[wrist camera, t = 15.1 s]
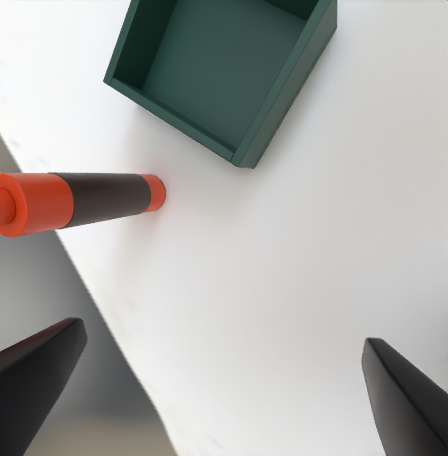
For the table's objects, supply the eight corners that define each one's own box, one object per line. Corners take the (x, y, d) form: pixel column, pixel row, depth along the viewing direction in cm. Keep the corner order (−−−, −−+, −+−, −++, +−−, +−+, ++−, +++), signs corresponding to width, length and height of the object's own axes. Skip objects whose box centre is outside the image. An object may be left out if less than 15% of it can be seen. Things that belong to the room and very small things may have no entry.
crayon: (172, 188, 23) (-2, 200, 11) (155, 218, 24) (-21, 260, 12) (144, 166, 24) (-50, 156, 12) (129, 197, 25) (-63, 216, 13)
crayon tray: (337, 27, 17) (337, -11, 14) (254, 169, 20) (237, 167, 17) (192, -41, 20) (161, -88, 16) (138, 96, 23) (102, 81, 19)
